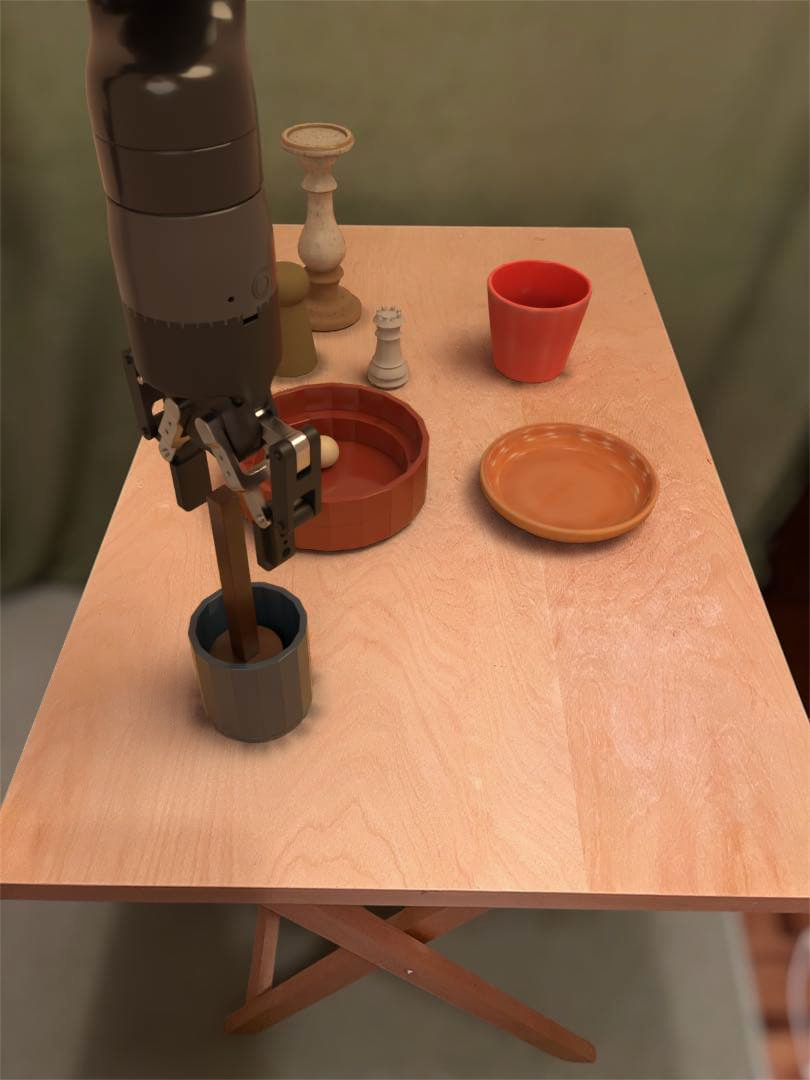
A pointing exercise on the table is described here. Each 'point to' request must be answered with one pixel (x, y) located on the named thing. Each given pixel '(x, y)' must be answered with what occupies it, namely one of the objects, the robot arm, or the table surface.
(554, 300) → the flower pot
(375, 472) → the bowl
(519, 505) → the saucer
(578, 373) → the table surface
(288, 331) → the brown peg figure
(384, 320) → the rook chess piece
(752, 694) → the table surface
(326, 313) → the candle holder
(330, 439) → the dough ball
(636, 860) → the table surface
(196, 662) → the crock
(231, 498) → the wooden pestle
